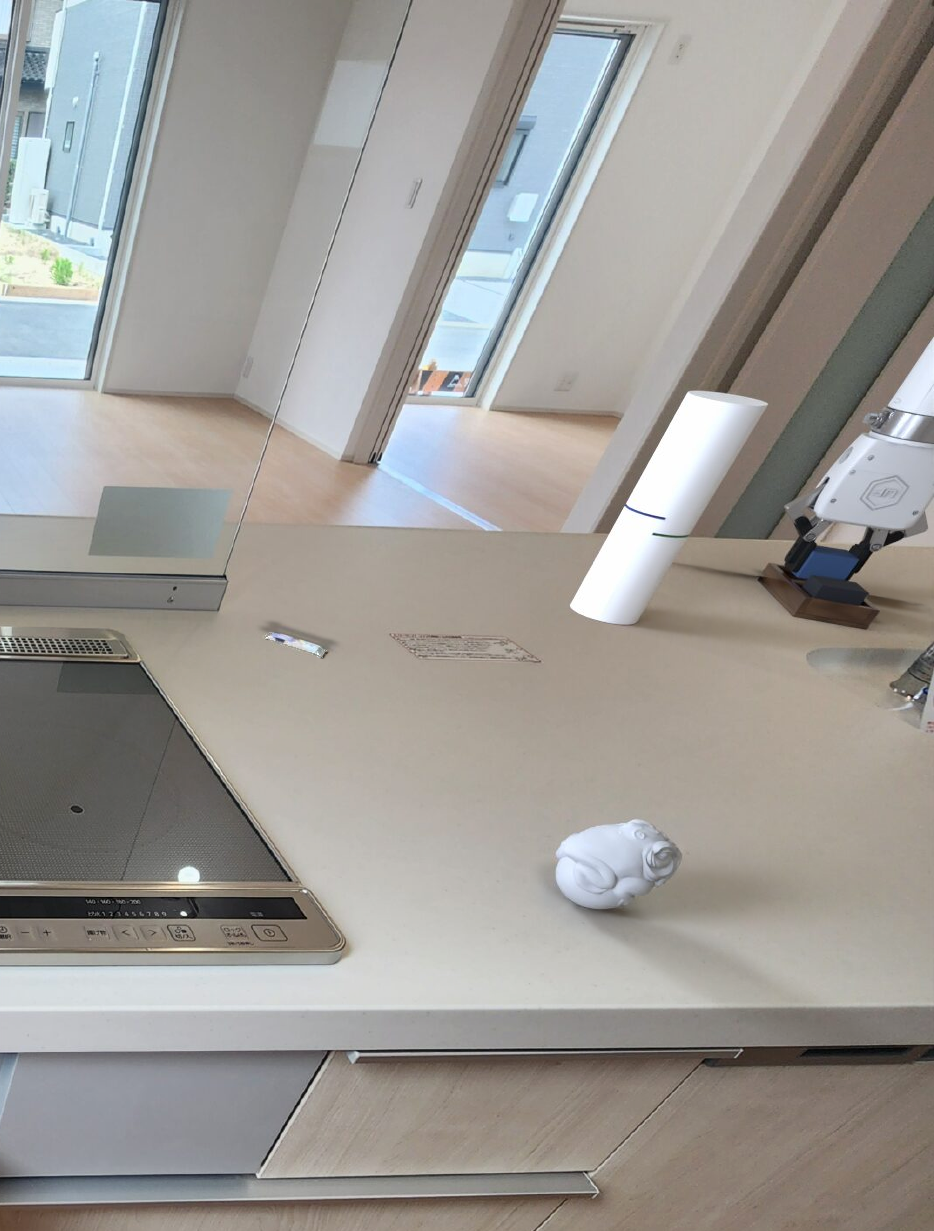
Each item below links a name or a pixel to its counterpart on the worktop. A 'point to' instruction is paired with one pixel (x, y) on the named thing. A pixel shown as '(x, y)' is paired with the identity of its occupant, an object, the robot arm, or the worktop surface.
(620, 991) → the worktop surface
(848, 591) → the pad charcoal
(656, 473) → the cylindrical container
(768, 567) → the holder
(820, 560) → the pad blue
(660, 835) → the frog figurine
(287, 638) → the granola bar
